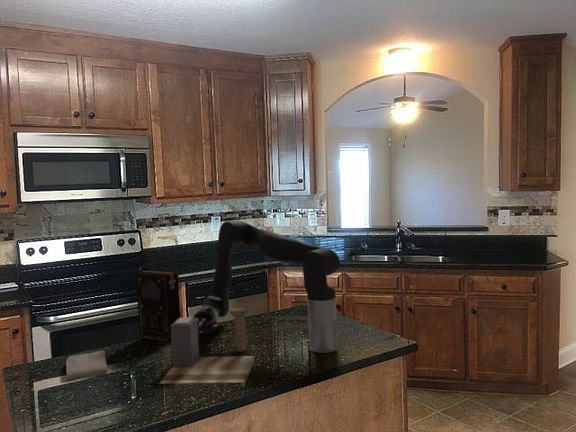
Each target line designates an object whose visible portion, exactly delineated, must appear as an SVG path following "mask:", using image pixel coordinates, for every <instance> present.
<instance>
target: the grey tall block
mask: <svg viewBox="0 0 576 432" xmlns="http://www.w3.org/2000/svg"><path fill="white" fill-rule="evenodd" d="M193 317H194V316H193ZM193 317H192V316H191V317H190V316H189V317H187V316H186V317H180V318H178V319H177V320H176V321H175V322H174V323H173V324H172V325H171V339H172V342H171V351H172V352H171V353H172V367H173V368H182V367H193V366H194V365H195V363H196V362H197V360H198V359H199V357H200V346H199V334H198V327H197V318H193Z"/></svg>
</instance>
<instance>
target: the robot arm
mask: <svg viewBox="0 0 576 432" xmlns="http://www.w3.org/2000/svg"><path fill="white" fill-rule="evenodd" d="M238 245H246V246H250V247H254V248H256V249H257V250H258V251H259V253H260V254H261V255H263V256H264V257H266V258H269V259H271V260H274V261H276V262H280V263H281V262H282V263H289V264H301V265H302V275H303V282H304V283H303V284H304V286H303V287H304V290H305V292H306V295H307V318H308V319H307V320H308V338H309V339H308V342H309V351H311V352H314V353H318V354H319V353H320V354H326V353H333V352H338V347H339V346H338V325H337V306H336V290H335V288H334V287H332V286H329V285H328V281H327V280H328V279H327V277H328V276H331V275H332V274H335V273H336V272H337V271H338V270H339V268H340V265H341V262H340V261H341V259H340V257H339V255H338V254H337V253H336V252H335V250H332V249H330V248H328V247H323V246H318V245H312V244H308V243H306V242H302V241H300V240H297V239H294V238H292V237H288V236H285V235H283V234H280V233H276V232H273V231H269V230H265V229H261V228H258V227H257V226H254V225H252V224H250V223H249V222H246V221H243V220H228V221H224V222H223V223H222V224H221V226H220V227H219V232H218V240H217V251H216V252H217V253H216V265H215V270H214V271H215V272H214V273H213V278H212V279H213V280H212V283H211V286H210V287H211V292H212V293H214V294H215V295H217V296H218V297H217V296H213V295H208V296H206V297H205V298H204V299H203V301H202V306H201V308H200V309H199V310H198V311H197V312H196V313H195V314H194V316H193V318H197V327H198V335H199V334H201V333H207V332H211V331H213V330H216V329H218V328H219V327H218V321H217V320H218V318H224V317H225V316H227V315H228V313H229V312H230V299H229V295H230V294H229V292H230V288H231V285H232V280H233V269H232V264H231V260H230V259H231V258H230V254H231V250H232V247H233V246H238Z"/></svg>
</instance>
